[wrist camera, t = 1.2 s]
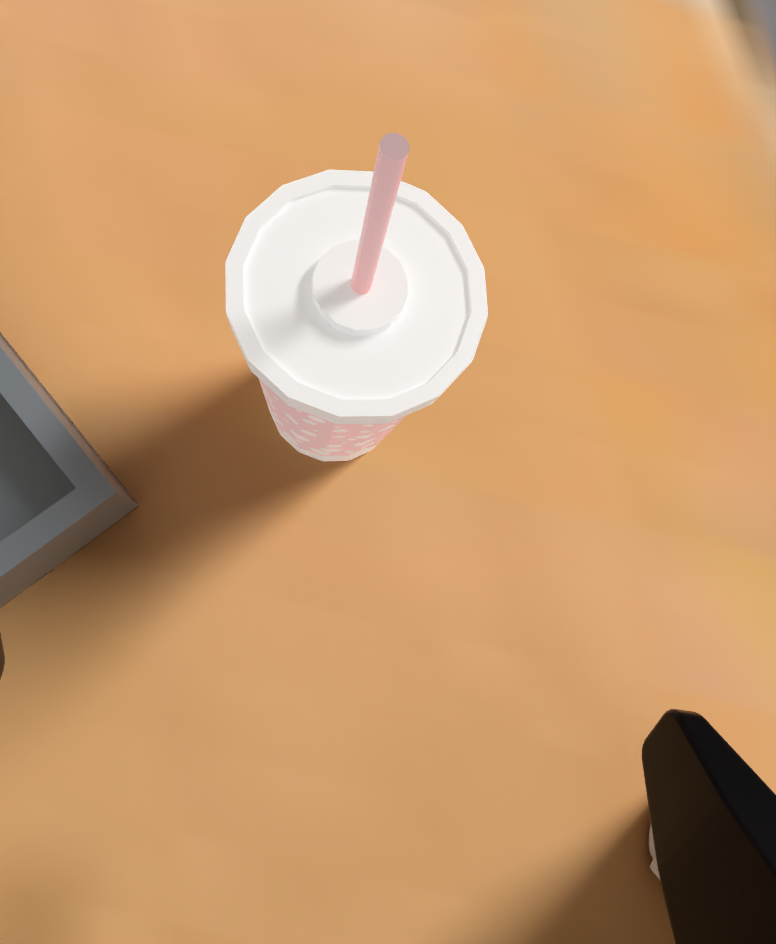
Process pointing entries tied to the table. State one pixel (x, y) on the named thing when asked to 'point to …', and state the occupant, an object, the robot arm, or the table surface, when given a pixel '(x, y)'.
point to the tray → (46, 481)
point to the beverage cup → (353, 303)
